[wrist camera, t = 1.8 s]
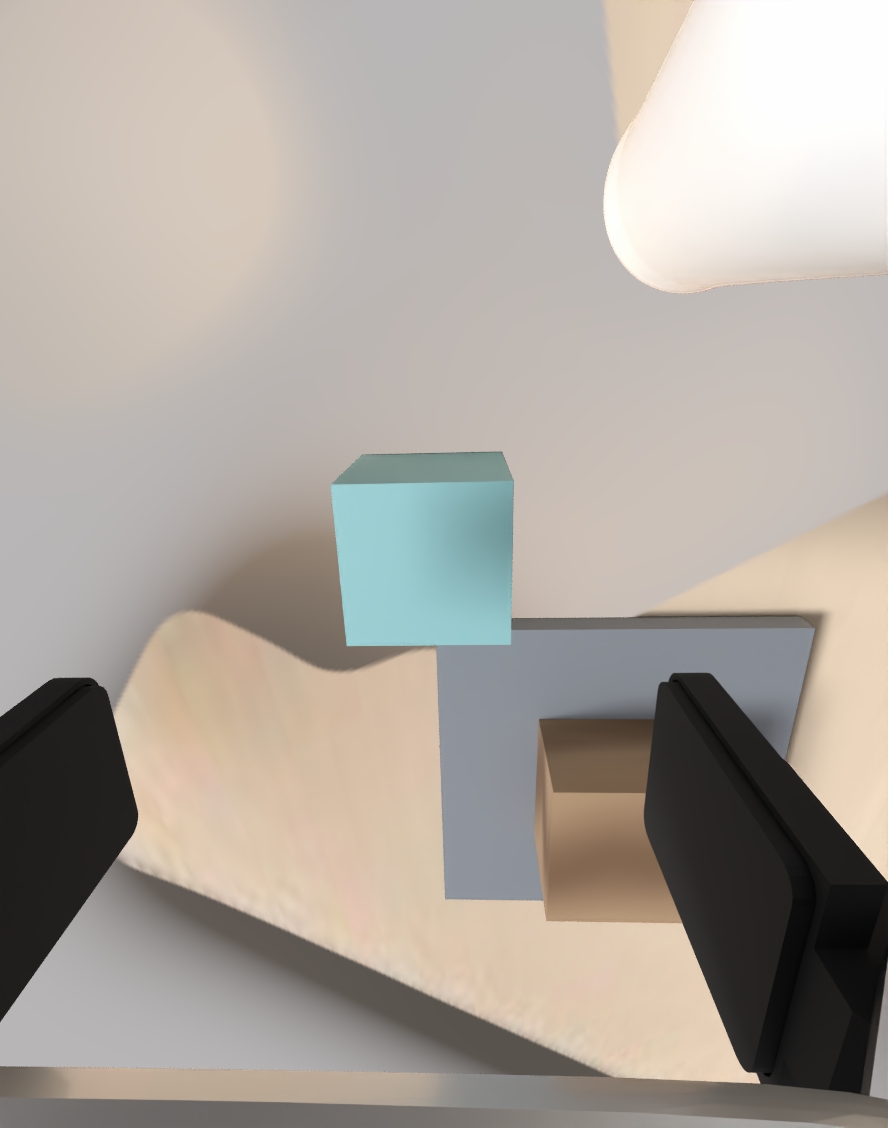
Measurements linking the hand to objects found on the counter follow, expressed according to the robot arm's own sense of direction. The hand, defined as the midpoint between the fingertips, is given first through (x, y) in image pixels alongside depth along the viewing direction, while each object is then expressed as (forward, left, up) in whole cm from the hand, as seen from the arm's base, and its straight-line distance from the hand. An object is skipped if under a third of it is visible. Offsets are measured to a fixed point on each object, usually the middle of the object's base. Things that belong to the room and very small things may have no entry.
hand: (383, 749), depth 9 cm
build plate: (+10, +7, -12) cm, 18 cm away
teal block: (-1, 0, -12) cm, 12 cm away
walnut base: (+10, +7, -11) cm, 17 cm away
